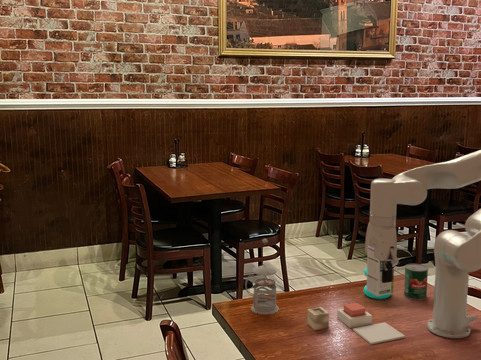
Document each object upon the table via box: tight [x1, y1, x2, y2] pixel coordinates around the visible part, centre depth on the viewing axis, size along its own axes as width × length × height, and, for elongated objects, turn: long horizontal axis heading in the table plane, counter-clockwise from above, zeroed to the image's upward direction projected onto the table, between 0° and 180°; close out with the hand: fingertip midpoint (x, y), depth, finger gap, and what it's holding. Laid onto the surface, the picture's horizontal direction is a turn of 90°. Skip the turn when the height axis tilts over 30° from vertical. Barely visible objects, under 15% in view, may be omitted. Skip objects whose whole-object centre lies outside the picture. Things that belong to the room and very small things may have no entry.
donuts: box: [363, 267, 392, 300], centre depth 191 cm, size 10×10×10 cm
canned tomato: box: [403, 263, 429, 301], centre depth 190 cm, size 8×8×11 cm
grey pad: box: [352, 322, 406, 345], centre depth 161 cm, size 12×10×1 cm
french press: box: [244, 238, 280, 316], centre depth 179 cm, size 10×12×25 cm
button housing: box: [336, 307, 373, 329], centre depth 170 cm, size 8×8×3 cm
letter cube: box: [306, 306, 330, 331], centre depth 167 cm, size 5×5×5 cm
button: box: [343, 302, 367, 317], centre depth 170 cm, size 5×5×3 cm
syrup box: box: [366, 246, 395, 296], centre depth 158 cm, size 6×6×14 cm
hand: (380, 277), depth 158 cm, fingers closed on syrup box, 5 cm apart
